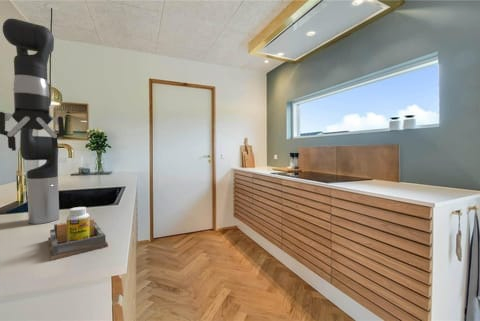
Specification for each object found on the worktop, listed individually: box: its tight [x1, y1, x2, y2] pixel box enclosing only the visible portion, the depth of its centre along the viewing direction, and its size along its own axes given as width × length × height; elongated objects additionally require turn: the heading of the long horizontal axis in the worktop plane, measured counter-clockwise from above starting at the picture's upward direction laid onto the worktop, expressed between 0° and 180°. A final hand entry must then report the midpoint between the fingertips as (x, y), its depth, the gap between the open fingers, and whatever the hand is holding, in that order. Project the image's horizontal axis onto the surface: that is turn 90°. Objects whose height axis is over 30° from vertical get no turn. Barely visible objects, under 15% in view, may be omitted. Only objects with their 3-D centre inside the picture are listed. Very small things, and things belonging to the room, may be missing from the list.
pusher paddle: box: [56, 218, 95, 242], centre depth 70 cm, size 1×9×5 cm, turn 131°
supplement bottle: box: [66, 206, 90, 242], centre depth 68 cm, size 6×6×10 cm
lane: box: [48, 217, 109, 261], centre depth 69 cm, size 17×13×5 cm
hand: (34, 150), depth 67 cm, fingers open, 8 cm apart
